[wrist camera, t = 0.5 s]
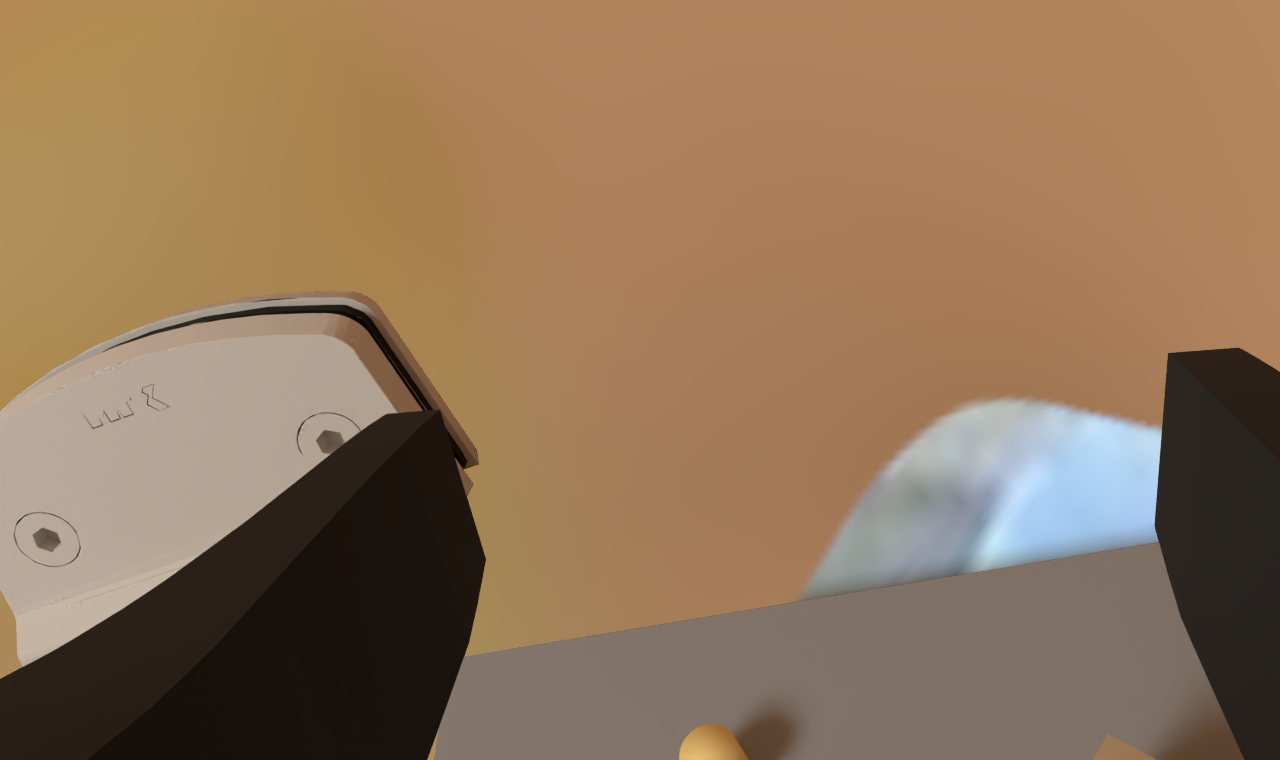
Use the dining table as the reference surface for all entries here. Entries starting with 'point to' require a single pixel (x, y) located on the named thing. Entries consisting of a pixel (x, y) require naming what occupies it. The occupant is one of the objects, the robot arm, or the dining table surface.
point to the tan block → (1119, 751)
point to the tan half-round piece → (184, 445)
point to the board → (868, 677)
